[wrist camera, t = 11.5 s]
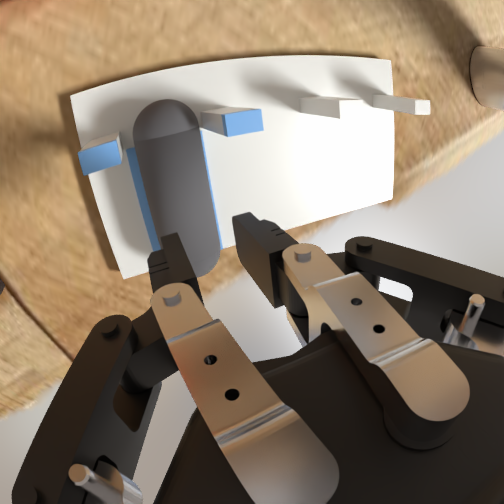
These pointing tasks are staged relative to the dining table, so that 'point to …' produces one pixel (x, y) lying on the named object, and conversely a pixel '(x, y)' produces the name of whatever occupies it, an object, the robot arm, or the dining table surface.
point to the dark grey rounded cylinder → (177, 180)
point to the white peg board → (249, 142)
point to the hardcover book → (1, 286)
